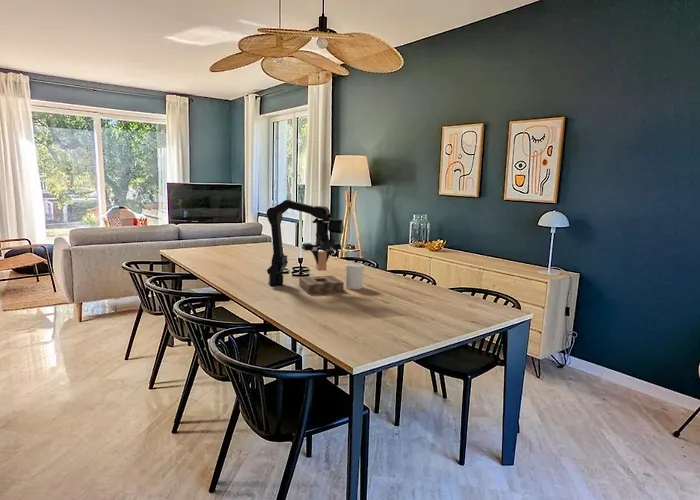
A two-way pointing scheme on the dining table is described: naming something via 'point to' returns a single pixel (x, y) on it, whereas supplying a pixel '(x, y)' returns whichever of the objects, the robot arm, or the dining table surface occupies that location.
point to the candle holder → (354, 275)
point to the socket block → (321, 284)
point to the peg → (321, 261)
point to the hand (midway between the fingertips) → (321, 263)
